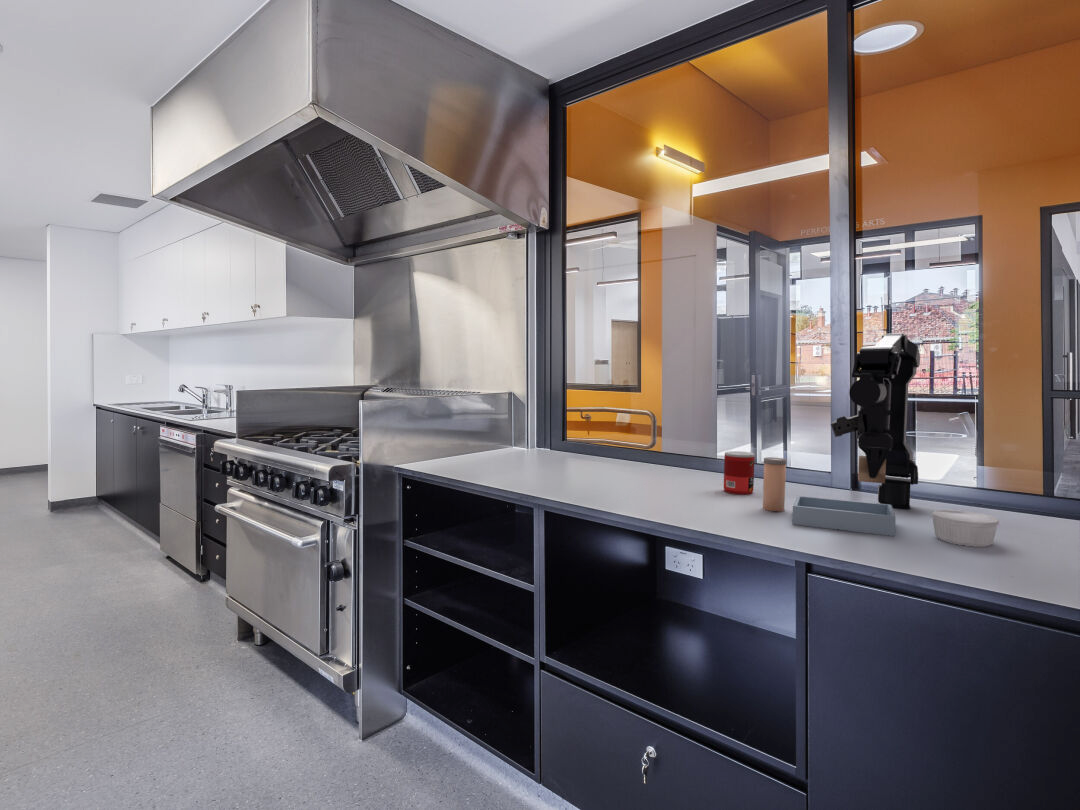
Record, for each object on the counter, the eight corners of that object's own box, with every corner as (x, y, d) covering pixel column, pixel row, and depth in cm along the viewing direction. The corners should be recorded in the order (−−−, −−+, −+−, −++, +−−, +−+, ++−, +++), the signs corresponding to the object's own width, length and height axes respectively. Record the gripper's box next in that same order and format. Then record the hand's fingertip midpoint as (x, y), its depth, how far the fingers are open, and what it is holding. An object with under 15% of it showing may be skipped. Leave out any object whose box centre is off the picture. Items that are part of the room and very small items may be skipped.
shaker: (785, 508, 147) (787, 458, 146) (783, 512, 143) (785, 461, 142) (763, 506, 150) (765, 456, 149) (760, 510, 145) (762, 459, 144)
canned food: (755, 495, 163) (756, 455, 162) (725, 493, 164) (726, 454, 163) (751, 489, 170) (752, 451, 169) (722, 488, 172) (723, 450, 171)
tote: (890, 522, 134) (891, 504, 134) (894, 536, 123) (895, 516, 123) (796, 512, 143) (796, 495, 143) (792, 524, 132) (792, 506, 132)
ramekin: (963, 532, 127) (964, 508, 127) (1012, 548, 116) (1014, 521, 116) (917, 534, 125) (918, 509, 125) (963, 550, 114) (965, 523, 114)
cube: (883, 479, 131) (884, 457, 131) (885, 483, 127) (886, 460, 126) (857, 477, 133) (858, 455, 133) (858, 481, 129) (859, 458, 129)
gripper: (834, 401, 141) (831, 466, 142) (833, 405, 124) (830, 479, 125) (888, 403, 136) (885, 470, 137) (894, 407, 119) (891, 484, 120)
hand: (871, 475), depth 130 cm, fingers closed on cube, 5 cm apart
